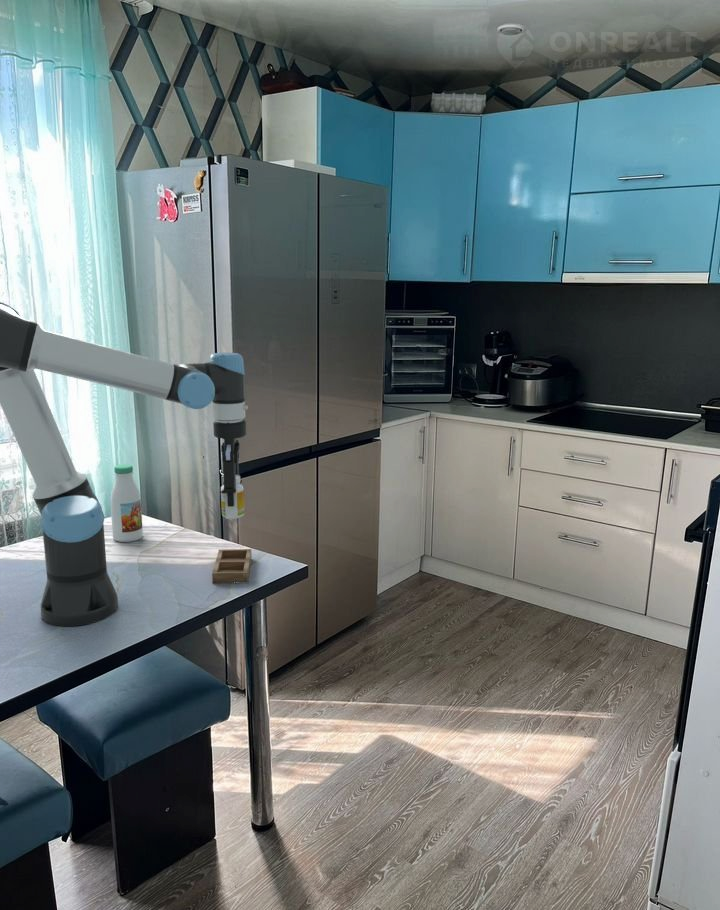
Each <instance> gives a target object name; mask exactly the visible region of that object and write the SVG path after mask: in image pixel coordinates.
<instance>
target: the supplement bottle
mask: <svg viewBox="0 0 720 910" xmlns="http://www.w3.org/2000/svg"><path fill="white" fill-rule="evenodd" d="M240 480H241V475H240V474H239V475H236V492H237V513H238V518H237V519H239V518H242V517H243V516H245V493H244V486H243V485H242V483H240ZM222 482H223V483H224V476H223V479H222ZM222 491H224V484H223V485H222V486H220V499H221V500H220V501H221V503H220V504H221V515H222V517H223V518H225V519H226V510H225V493H222Z"/></svg>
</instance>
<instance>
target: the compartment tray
mask: <svg viewBox="0 0 720 910" xmlns="http://www.w3.org/2000/svg"><path fill="white" fill-rule="evenodd" d="M251 558H253V557H252V549H251V548H245V549H244V548H243V549H235V548H234V549H233V548H232V549H218V552H217V555H216V560H215V563H214V566H213V569H212V573H211V579H212V580H211V582H212V584H213V585H214V584H215V585H216V584H237V583H236V582H249V577H250V576H249V575H250V571H249V570H251V565H250V564H251V563H252V559H251ZM248 576H249V577H248ZM234 582H235V583H234Z"/></svg>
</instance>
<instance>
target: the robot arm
mask: <svg viewBox="0 0 720 910" xmlns="http://www.w3.org/2000/svg"><path fill="white" fill-rule="evenodd" d="M35 370H40V371H44V372H47V373H48V372H49V373H52V374H56V375H60V376H65V377H70V378H74V379H78V380H82V381H87V382H91V383H95V384H99V385H103V386H108V387H111V388H116V389H118V390H119V389H120V390H123V391H124V390H125V391H128V392H133V393H137V394H141V395H144V396H150V397H153V398H158V399H162V400H166V401H169V402H172V403H177V404H180V405H184V406H185V407H186V408H189V409H193V410H203V409H205V408H206V407H207V406H209V405H212V419H213V420H214V421H213V423H212V424H213V436H214V437H215V438H217V439H222V440H223V442H222V445H221V446H220V452H221V456H222V459H221V460H222V468H223V469H222V470H223V477H224V482H223V485H224V491H222V493H225V510H226V518H225V519H226V520H237V519H239V518H238V513H237V492H236V475H239V476H240V466H239V465H240V464H239V459H240V447H241V446H240V442H239V439H240V438H244V437H245V436H247V422H246V420H245V418H246V410H249V406H248V404H247V405H245V404H246V399H245V397H246V396H245V395H246V394H245V393H246V392H245V391H246V390H245V385H246V384H245V383H246V382H245V375H246V372H245V364H244V357H243V356H242V355H241V354H240V353H238V352H214V353H212V354H211V355H210V360H209V361H207V362H203V363H195V362H194V363H169V362H165V361H161V360H157V359H153V358H150V357H147V356H143V355H139V354H135V353H132V352H127V351H123V350H121V349H118V348H113V347H109V346H105V345H102V344H97V343H94V342H89V341H86V340H83V339H79V338H74V337H72V336H68V335H64V334H61V333H55V332H52V331H49V330H46V329H44V328H43V326H42V325H41V324H40V323H39V322H36V321H32V320H28V319H25V318H23V316H22V315H21V314H20V313H19V312H18V311H17V310H16V309H15V308H14V307H12V306H10V305H9V304H6V303H4V302H1V301H0V407H1V409H2V411H3V413H4V416H5V418H6V421H7V423H8V425H9V427H10V429H11V431H12V434H13V436H14V438H15V441H16V443H17V445H18V448H19V449H20V452H21V455H22V456H23V459H24V461H25V463H26V465H27V468H28V470H29V473H30V475H31V477H32V480H33V481H34V483H35V488H34V490H33V493H32V498H33V500H34V502H35V505H36V507H37V509H38V511H39V514H40V516H41V518H40V526H41V527H40V528H41V529H42V537H43V538H42V539H43V540H42V541H43V547H44V548H43V550H44V559H45V568H46V569H45V570H46V583H45V587H44V591H43V594H42V598H41V603H40V617H41V619H42V620H43V621H44V622H45V623H47V624H50V625H53V626H57V627H59V626H60V627H75V626H76V627H77V626H78V627H79V626H83V625H84V626H85V625H88V624H89V625H90V624H93V623H96V622H99V621H102V620H105V619H106V618H108V617H110V616H111V615H113V614H114V613H115V612H116V611H117V609H118V608H119V601H118V599H119V598H118V594H117V591H116V588H115V587H114V585H113V582H112V580H111V577H110V576H109V574H108V568H107V566H108V565H107V556H106V555H107V553H106V542H105V541H106V540H105V538H106V537H105V527H104V526H105V525H104V522H105V514H104V511H103V507H102V505H101V503H100V501H99V499H98V496H96V495H95V493H94V491H93V489H92V486H91V484H90V483H89V480H88V478H87V476H86V474H85V473H81V472H79V471H77V470H76V467H75V465H74V463H73V461H72V458H71V456H70V454H69V451H68V449H67V446H66V443H65V441H64V439H63V437H62V434H61V431H60V430H59V427H58V425H57V423H56V422H57V421H56V419H55V418H54V415H53V412H52V409H51V407H50V405H49V403H48V401H47V399H46V396H45V394H44V391H43V389H42V387H41V384H40V381H39V379H38V377H37V375H36V374H37V373H36V372H35ZM242 483H243V480H242V479H240V483H239V484H242Z"/></svg>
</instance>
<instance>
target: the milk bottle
mask: <svg viewBox="0 0 720 910" xmlns="http://www.w3.org/2000/svg"><path fill="white" fill-rule="evenodd" d="M113 470H114V475H115V480H114V484H113V487H112V489H111V493H110V517H111V530H112V531H111V533H112V538H113V540H114V541H116V542H118V543H119V542H120V543H130V542H135V541H139V540H140V539H141V538H142V537H143V535H144V533H143V532H144V531H143V530H144V529H143V517H142V515H143V514H142V512H143V511H142V502H141V499H142V498H141V494H140V490H139V488H138V486H137V484H136V483H135V482H136V481H134V478H133V474H134V467H133V465H132V464H127V463H126V464H125V463H123V464H118V465H115V466H114V469H113Z"/></svg>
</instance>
